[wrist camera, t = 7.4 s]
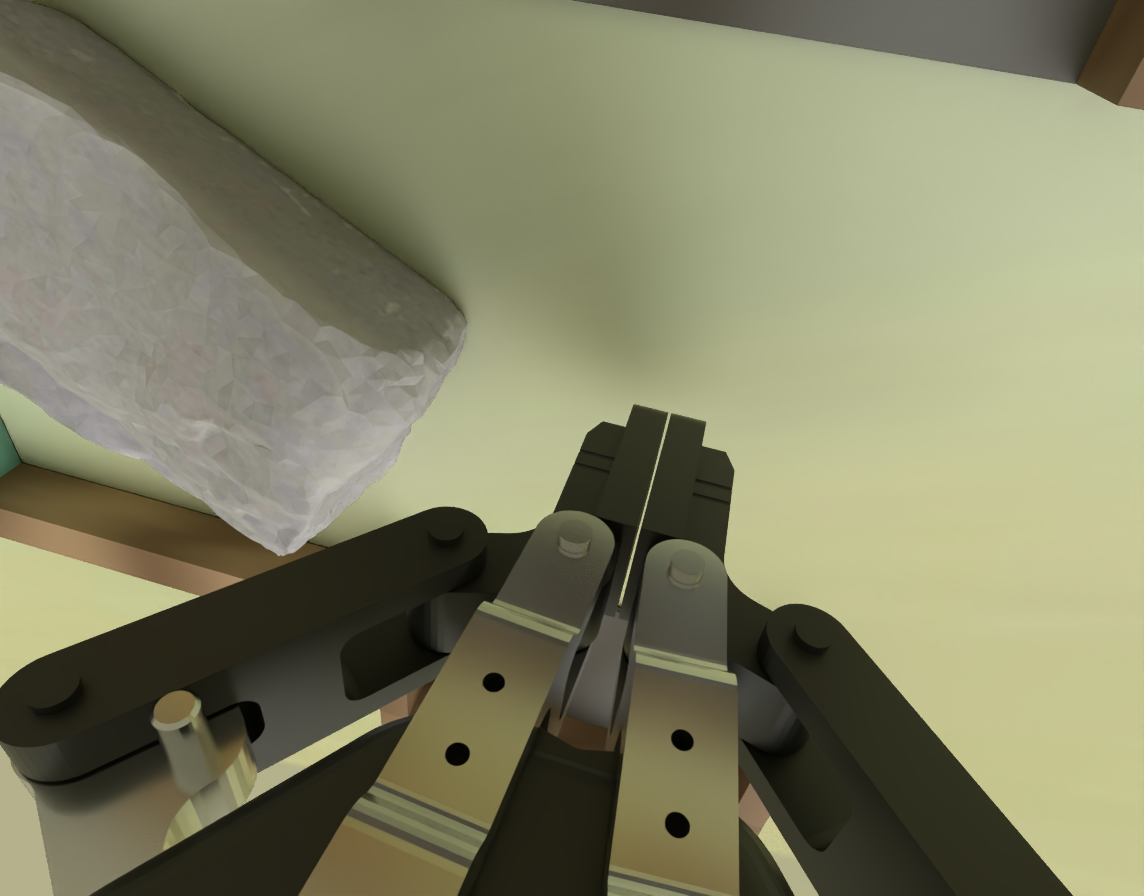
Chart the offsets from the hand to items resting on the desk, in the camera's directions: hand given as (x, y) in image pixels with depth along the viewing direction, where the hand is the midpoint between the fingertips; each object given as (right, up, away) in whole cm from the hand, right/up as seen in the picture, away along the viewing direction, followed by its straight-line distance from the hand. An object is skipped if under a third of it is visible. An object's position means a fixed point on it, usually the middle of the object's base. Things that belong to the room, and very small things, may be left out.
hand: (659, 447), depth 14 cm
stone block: (-11, +4, +4) cm, 12 cm away
